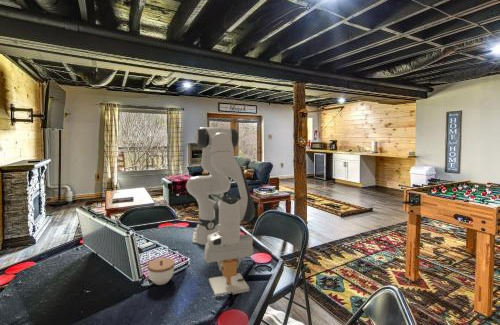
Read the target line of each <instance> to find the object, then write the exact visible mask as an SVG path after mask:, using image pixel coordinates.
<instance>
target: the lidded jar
mask: <svg viewBox="0 0 500 325" xmlns="http://www.w3.org/2000/svg"><path fill="white" fill-rule="evenodd" d="M174 272H175V260H174V259H172V258H170V257H160V258H155V259H153V260H151V261H150V262H148V264H147V274H148V277H149V279H150V280H151V282H153V283H154V284H155V285H156V286H157V285H158V286H161V285H165V284H167V283H168V282H169V281H170V280H171V278H173V276H174Z"/></svg>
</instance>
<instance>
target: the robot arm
mask: <svg viewBox="0 0 500 325" xmlns="http://www.w3.org/2000/svg"><path fill="white" fill-rule="evenodd" d="M194 135H195V136H194V140H195V143H196V145H197V146H198V147H199V148H202V151H201V152H202V153H201V160H200V161H201V162H200V166H201V168H202V169H203V170H204V171H205V172H207V173H209V174H208V175H196V176H192V177H190V178H188V179H187V182H186V184H185V185H186V190H187V192H188V194H189V195H191V196H192V197H193V198H194V199H195V200H196V202H197V204H198V219H197V223H198V224H197V225H196V227H194V228H193V234H192V235H193V236H192V242H191V243H193V244H199V245H201V246H203V245H204V246H205V247H204V252H203V254H204V255H203V258H204V261H205V262H206V263H207V264H208V263H214V262H216V264H217V266H218V265H219V266H218V269H219V271H220V272H222V270H224V269H223V268H224V266H223V265H221V264H220V263H221V261H223V260H230V259H237V269H238V268H239V266H240V263H241V262H242V259H243V258H249V257H252V256H253V255H254V248H253V247H254V246H253V243H254V237H253V235H252V234H249V233H248V234H241V226H240V225H241V224H240V223H250V221H252V220H253V219H254V218H255V216H256V208H255V204H254V201H253V199H252V196H251V192H250V188H249V185H248V181H247V178H246V174H245V171H244V169H243V166H242V165H240V164H239V163H238V162H237V160H236V158H235V151H234V150H235V148H236V147H237V146H238V144H239V140H240V137H239V132H238V131H237V130H236V129H235V128H232V127H230V128H228V127H222V126H212V127H211V126H209V127H207V126H202V127H201V126H200V127H198V128H197V130H196V132H195V134H194ZM230 179H232V180H234V182H236V185H237V189H238V192H239V196H240V199H239V197H236V196H235V195H225V196H222V197H221V198H220V200H217V201H215V200H214V199H211V198H209V196H210V195H221V194H224V193H226V192H228V191H229V190H230V189H231V186H232V185H231V180H230Z"/></svg>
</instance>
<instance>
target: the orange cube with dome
mask: <svg viewBox="0 0 500 325" xmlns="http://www.w3.org/2000/svg"><path fill="white" fill-rule="evenodd" d="M222 265H223V266H224V268H223V269H224V270H222V271H221V273H222V276H224V277H225V278H226V277H232V276H237V274H238V273H237V270H238V268H237V261H236V260H235V259H230V260H223V261H222Z"/></svg>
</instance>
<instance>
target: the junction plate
mask: <svg viewBox="0 0 500 325" xmlns="http://www.w3.org/2000/svg"><path fill="white" fill-rule="evenodd" d="M208 283H209V285H211V286H210V287H211V290H213V291H212V293H213V292H214V293H213V296H214V295H215V296H214V298H215V297H216V296H220V295H223V294H227V293H230V292H232V293H233V294H232V295H237V294H242V293H247V292H250V286H249V285H248V284H247V282H246V281H245V278H243V276H242V274H241V273H240V272H239V273H237V276H232V277H226V278H225V277H224V275H221V276H214V277H210V278H208Z"/></svg>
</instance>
